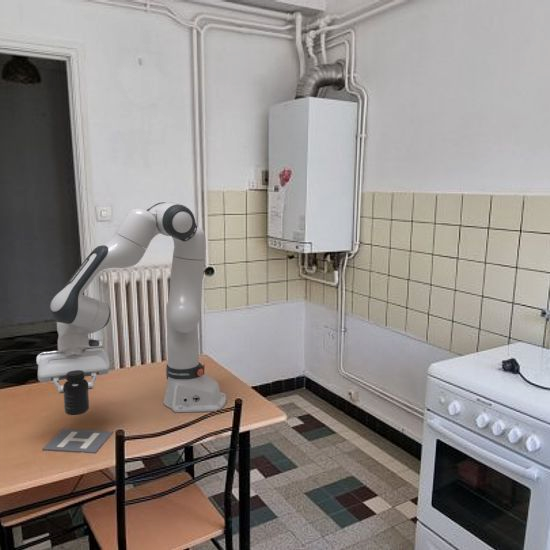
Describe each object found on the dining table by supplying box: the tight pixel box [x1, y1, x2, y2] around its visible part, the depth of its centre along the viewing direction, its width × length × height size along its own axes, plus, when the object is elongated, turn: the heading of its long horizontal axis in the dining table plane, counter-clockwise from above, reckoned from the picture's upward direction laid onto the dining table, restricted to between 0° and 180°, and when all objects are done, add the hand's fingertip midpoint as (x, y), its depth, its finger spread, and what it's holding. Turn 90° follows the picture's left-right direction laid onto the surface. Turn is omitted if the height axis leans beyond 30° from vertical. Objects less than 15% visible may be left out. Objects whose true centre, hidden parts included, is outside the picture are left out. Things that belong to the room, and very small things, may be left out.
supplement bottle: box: [62, 370, 90, 416], centre depth 140 cm, size 7×7×12 cm
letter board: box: [41, 428, 114, 454], centre depth 142 cm, size 16×12×1 cm
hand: (76, 390), depth 139 cm, fingers closed on supplement bottle, 7 cm apart
